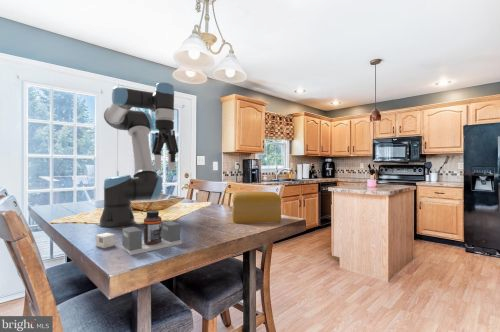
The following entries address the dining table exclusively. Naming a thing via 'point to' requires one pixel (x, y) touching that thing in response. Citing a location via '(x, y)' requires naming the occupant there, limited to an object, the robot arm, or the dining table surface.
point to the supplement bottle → (152, 228)
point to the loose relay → (105, 240)
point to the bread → (256, 207)
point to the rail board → (135, 244)
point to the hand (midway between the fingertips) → (164, 170)
